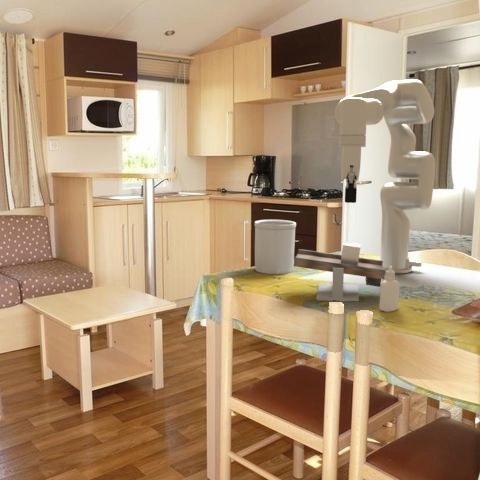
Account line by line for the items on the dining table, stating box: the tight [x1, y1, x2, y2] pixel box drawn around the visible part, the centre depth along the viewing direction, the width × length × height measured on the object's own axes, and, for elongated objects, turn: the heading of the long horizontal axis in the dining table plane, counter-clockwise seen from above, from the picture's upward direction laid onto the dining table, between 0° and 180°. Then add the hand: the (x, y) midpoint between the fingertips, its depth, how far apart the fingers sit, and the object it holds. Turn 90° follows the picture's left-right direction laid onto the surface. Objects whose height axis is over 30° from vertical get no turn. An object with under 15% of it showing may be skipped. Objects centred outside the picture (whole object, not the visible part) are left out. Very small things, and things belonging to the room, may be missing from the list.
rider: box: [341, 241, 361, 266], centre depth 173 cm, size 5×5×6 cm
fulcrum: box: [315, 267, 360, 302], centre depth 175 cm, size 12×17×10 cm
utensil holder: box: [254, 219, 297, 275], centre depth 208 cm, size 15×15×18 cm
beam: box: [293, 248, 386, 288], centre depth 175 cm, size 26×14×6 cm, turn 80°
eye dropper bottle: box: [378, 266, 400, 313], centre depth 158 cm, size 4×6×12 cm
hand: (350, 201), depth 171 cm, fingers open, 9 cm apart
